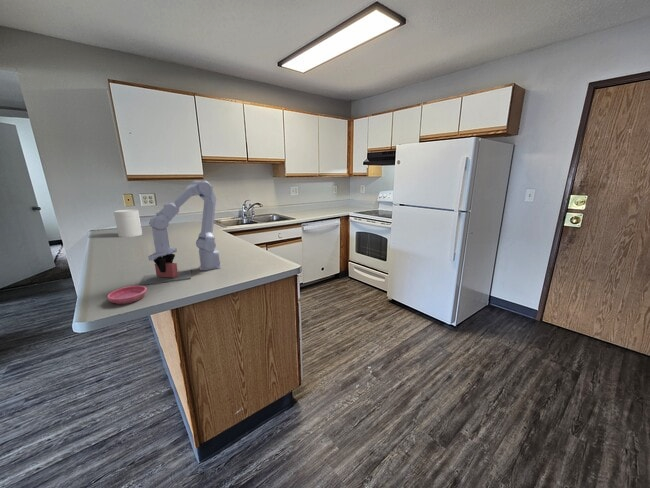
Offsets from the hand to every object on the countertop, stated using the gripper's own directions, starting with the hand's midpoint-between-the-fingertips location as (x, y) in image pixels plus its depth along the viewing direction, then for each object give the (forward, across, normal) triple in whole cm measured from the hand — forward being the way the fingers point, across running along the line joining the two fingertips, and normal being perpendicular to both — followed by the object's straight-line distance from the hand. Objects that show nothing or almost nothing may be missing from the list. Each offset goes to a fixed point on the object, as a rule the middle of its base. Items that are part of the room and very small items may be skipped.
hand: (166, 270), depth 122 cm
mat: (+3, 0, 0) cm, 3 cm away
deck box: (+2, 0, 0) cm, 2 cm away
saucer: (+4, -22, -2) cm, 22 cm away
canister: (+4, +76, +102) cm, 128 cm away
